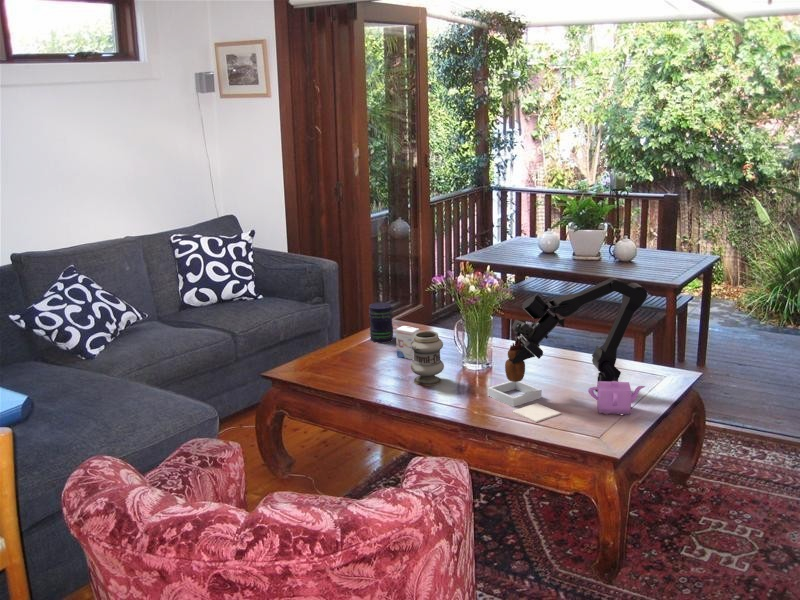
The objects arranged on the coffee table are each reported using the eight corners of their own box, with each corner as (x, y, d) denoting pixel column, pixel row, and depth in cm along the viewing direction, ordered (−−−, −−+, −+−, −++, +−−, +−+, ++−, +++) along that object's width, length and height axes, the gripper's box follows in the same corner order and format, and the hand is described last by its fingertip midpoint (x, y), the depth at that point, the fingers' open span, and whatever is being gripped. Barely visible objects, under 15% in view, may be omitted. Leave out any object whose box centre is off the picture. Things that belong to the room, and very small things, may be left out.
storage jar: (365, 340, 363) (363, 306, 359) (380, 334, 370) (379, 301, 366) (383, 344, 357) (381, 309, 353) (398, 338, 364) (397, 304, 360)
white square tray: (541, 397, 294) (541, 389, 293) (513, 406, 286) (513, 398, 286) (515, 387, 304) (515, 379, 303) (487, 395, 297) (487, 387, 296)
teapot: (642, 404, 285) (643, 376, 283) (646, 421, 272) (648, 391, 270) (586, 402, 288) (587, 374, 286) (588, 418, 275) (589, 389, 273)
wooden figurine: (524, 377, 296) (524, 335, 292) (525, 383, 290) (525, 340, 287) (504, 377, 296) (504, 335, 293) (505, 383, 291) (505, 340, 287)
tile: (560, 414, 279) (560, 412, 279) (536, 422, 273) (536, 421, 273) (536, 404, 288) (536, 402, 288) (512, 412, 282) (512, 410, 282)
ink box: (395, 356, 341) (395, 328, 338) (403, 353, 344) (402, 325, 341) (413, 360, 336) (413, 331, 333) (420, 356, 340) (420, 328, 337)
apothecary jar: (405, 384, 310) (404, 336, 305) (419, 373, 320) (418, 327, 316) (436, 388, 305) (435, 340, 300) (449, 377, 315) (448, 331, 311)
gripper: (519, 305, 297) (488, 337, 299) (533, 319, 279) (500, 354, 281) (542, 325, 299) (511, 357, 301) (557, 341, 281) (524, 375, 283)
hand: (511, 360), depth 292 cm, fingers closed on wooden figurine, 4 cm apart
